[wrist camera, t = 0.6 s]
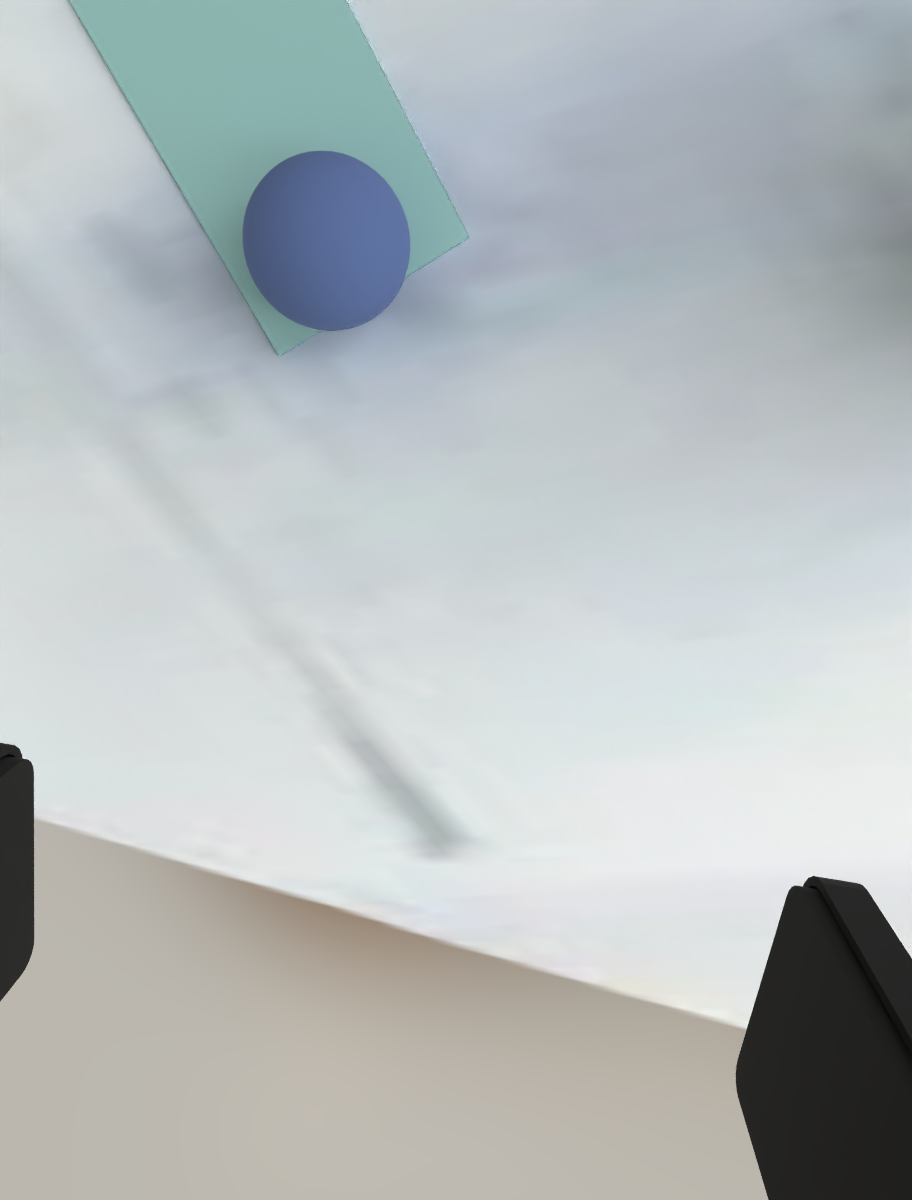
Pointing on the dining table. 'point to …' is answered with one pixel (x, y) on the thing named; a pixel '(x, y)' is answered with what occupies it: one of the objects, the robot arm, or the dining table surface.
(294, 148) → the panel
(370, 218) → the ball
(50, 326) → the dining table surface
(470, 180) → the dining table surface
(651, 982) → the dining table surface
